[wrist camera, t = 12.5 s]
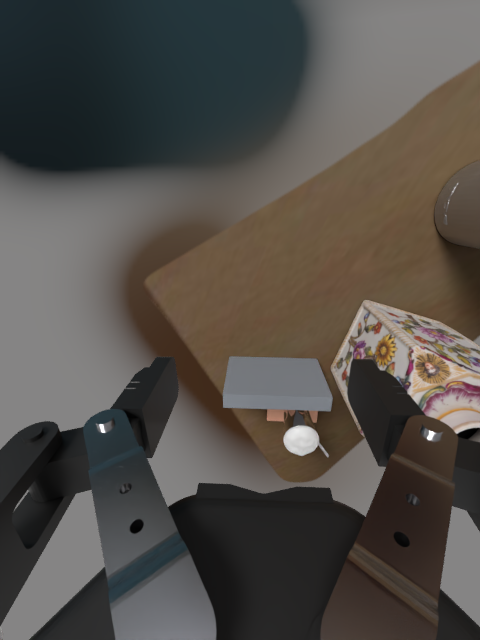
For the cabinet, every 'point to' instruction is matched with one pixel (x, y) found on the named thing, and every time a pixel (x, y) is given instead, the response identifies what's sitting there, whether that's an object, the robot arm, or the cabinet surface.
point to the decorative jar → (417, 363)
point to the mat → (279, 415)
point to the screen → (276, 384)
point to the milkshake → (300, 432)
